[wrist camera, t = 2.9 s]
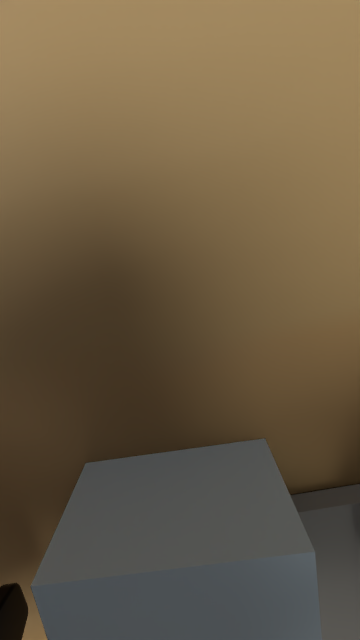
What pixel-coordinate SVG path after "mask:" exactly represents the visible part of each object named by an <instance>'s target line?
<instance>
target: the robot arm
mask: <svg viewBox="0 0 360 640" xmlns="http://www.w3.org/2000/svg"><path fill="white" fill-rule="evenodd" d="M27 616H28V606H27V603H26V600H25V597H24V595H23V592H22V590H21V587H20V585H19V584H18V583H11V584H5V585H2V586H1V587H0V640H22V636H23V632H24V628H25V625H26V621H27Z"/></svg>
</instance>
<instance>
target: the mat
mask: <svg viewBox="0 0 360 640" xmlns="http://www.w3.org/2000/svg"><path fill="white" fill-rule="evenodd" d="M290 496H291V498H292V501H293V503H294V505H295V508H296V510H297V512H298V514H299V517H300V519H301V521H302V523H303V526H304V528H305V530H306V532H307V535H308V537H309V539H310V541H311V544H312V546H313V548H314V551H315V558H316V571H317V583H318V596H319V609H320V621H321V634H322V640H360V484H356V485H350V486H344V487H338V488H332V489H326V490H320V491H314V492H308V493H302V494H296V495H290Z"/></svg>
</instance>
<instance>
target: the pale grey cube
mask: <svg viewBox="0 0 360 640" xmlns="http://www.w3.org/2000/svg"><path fill="white" fill-rule="evenodd" d="M31 589H32V593H33V596H34V599H35V602H36V605H37V608H38V611H39V614H40V617H41V620H42V623H43V626H44V629H45V633H46V636H47V639H48V640H322V634H321V621H320V609H319V596H318V583H317V571H316V558H315V551H314V548H313V546H312V544H311V541H310V539H309V537H308V535H307V532H306V530H305V528H304V526H303V523H302V521H301V519H300V517H299V514H298V512H297V510H296V508H295V505H294V503H293V501H292V498H291V496H290V494H289V492H288V489H287V487H286V485H285V483H284V480H283V478H282V476H281V474H280V471H279V469H278V467H277V464H276V462H275V460H274V458H273V455H272V453H271V451H270V449H269V446H268V444H267V442H266V440H265V438H264V439H257V440H249V441H242V442H235V443H228V444H220V445H213V446H206V447H199V448H191V449H184V450H177V451H170V452H162V453H155V454H148V455H141V456H133V457H126V458H119V459H112V460H104V461H97V462H90V463H85V466H84V468H83V470H82V472H81V475H80V477H79V479H78V481H77V484H76V486H75V488H74V490H73V493H72V495H71V497H70V499H69V501H68V504H67V506H66V508H65V510H64V513H63V515H62V517H61V519H60V522H59V524H58V526H57V528H56V530H55V533H54V535H53V537H52V539H51V542H50V544H49V546H48V548H47V551H46V553H45V555H44V557H43V560H42V562H41V564H40V566H39V568H38V571H37V573H36V575H35V577H34V580H33V582H32V584H31Z"/></svg>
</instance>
